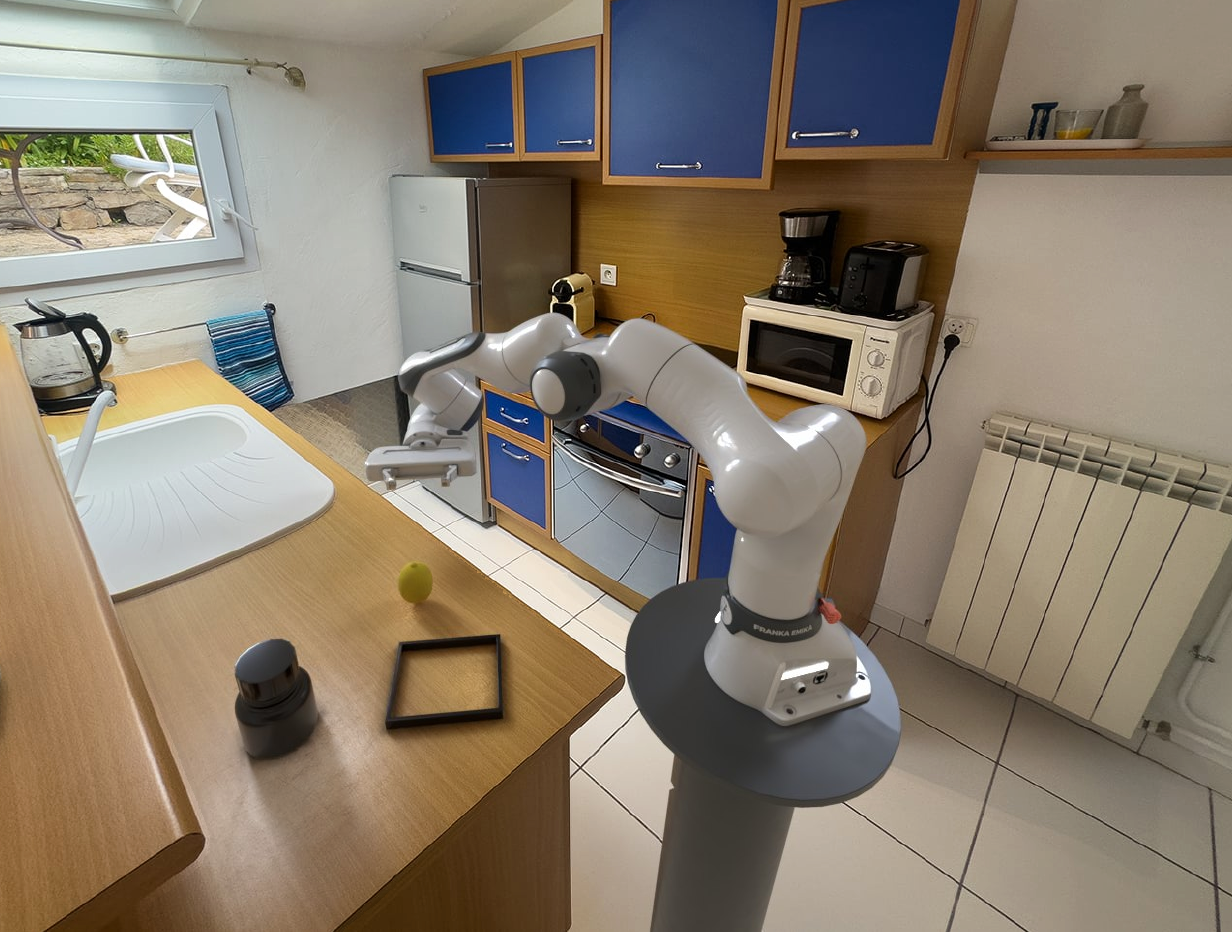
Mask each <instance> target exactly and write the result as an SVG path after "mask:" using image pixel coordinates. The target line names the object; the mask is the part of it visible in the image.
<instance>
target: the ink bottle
mask: <svg viewBox="0 0 1232 932" xmlns="http://www.w3.org/2000/svg"><path fill="white" fill-rule="evenodd" d="M298 659H299V658H298V655H297V649H296V646H295V645H293V643H292V642H291V641H290V640H287V639H283V638H269V639H267V640H263V641H259V642H258V643H256V644H254V645H253V646H251V647H248V648H247V650H245V651H244V652H243V654H241V655H240V656H239V657H238V660H237V661H236V663H235V665H234V678H235V681H236V684H237V688H238V693H237V696H236V698H235V700H234V701H235V703H234V714H235V718H236V721H237V725H238V729H239V732H240V736H241V739H242V742H243V746H244V749H245V750H246V752H247V753H248V754H249V755H250V756H251V757H253V758H255V759H259V760H272V759H277V758H281V757H285V756H286V755H289V754H291V753H292V752H294V751H297V750H298V749H299V748H300V747H302V746H303V745H304V744H305V743H306V742H307V741H308V740H309V739H310V737H311V736H312V734H313V732H314V731H315V729H316V726H317V723H318V719H319V714H318V705H317V701H316V696H315V692H314V687H313V682H312V678H311V675H310V674H309V672H308V671H307V670H306V669H305V668H304V667H302V666H301V665H300V664H299V660H298Z"/></svg>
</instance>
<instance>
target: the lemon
mask: <svg viewBox="0 0 1232 932" xmlns="http://www.w3.org/2000/svg"><path fill="white" fill-rule="evenodd" d="M397 579H398V580H397V589H398V592H399V594H400V596H401V598H402V599H403V600H404V601H405V602H406V603H409V604H413V605H417V604H421V603H423V602H425V601H426V600H427V599H428V598H429V596H430V595H431V593H432V591H433V587H434V586H433V585H434V580H433V576H432V572H431V570H430V568H429V567H428V566H427V564H425V563H424V562H421V561H411V562H409V563H406V564H405V565H404V566H403V567H402V568H401V570H400V572H399V575H398V578H397Z"/></svg>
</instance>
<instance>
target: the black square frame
mask: <svg viewBox="0 0 1232 932" xmlns="http://www.w3.org/2000/svg"><path fill="white" fill-rule="evenodd" d="M501 638H502V637H501V633H496V634H494V633H493V634H480V635H471V636H458V637H444V638H431V639H430V638H429V639H418V640H417V639H415V640H406V641H405V640H404V641H403V640H402V641H399V642H398V645H397V650H396V656H395V660H394V661H395V662H394V668H393V672H392V673H393V674H392V679H391V685H390V691H389V696H388V703H387V708H386V712H385V713H386V715H385V718H384V719H385V720H384V725H385V730H386V731H389V730H400V729H409V728H411V729H412V728H420V727H432V726H443V725H452V724H463V723H475V722H485V721H496V720H504V700H503V695H504V694H503V671H502V670H503V669H502V667H503V666H502V640H501ZM494 645H496V660H497V661H496V664H497V666H496V669H497V707H490V708H481V709H479V708H478V709H469V710H457V711H445V712H435V713H425V714H415V715H414V714H413V715H403V716H394V711H395V705H396V699H397V694H398V686H399V681H400V675H401V669H402V668H401V667H402V661H403V655H404V652H405V653H406V652H416V651H417V652H418V651H430V650H443V649H455V648H469V647H479V646H480V647H482V646H494Z"/></svg>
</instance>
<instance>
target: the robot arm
mask: <svg viewBox="0 0 1232 932" xmlns="http://www.w3.org/2000/svg"><path fill="white" fill-rule="evenodd" d="M456 369H457V370H462V371H466V372H468V373H469V374H472V375H474V376H476V377H478V378H479V379H481V380H482V381H484V382H485V383H487V384H489V385H490V386H492V387H493V388H496V389H497V390H499V391H500V392H504V393H507V394H513V395H515V394H516V395H517V394H518V395H519V394H525V393H529V392H530V396H531V398H532V402H533V403H534V405H535V407H536V409H537V410H538V411H539V412H540V414H541V415H543V417H545V418H546V419H549V420H551V421H554V422H570V421H572V422H573V421H576V420H579V419H581V418H583V417H586V416H589V415H593V414H597V413H599V412H603V411H608V410H610V409H612V408H614V407H616V406H618V405H620V404H622V403H624V402H625V401H628V400H631V399H636V400H637V401H638V402H639V403H640V404H642V405H643V406H644V407H646V409H648V410H649V411H650V412H651V413H653V414H654V415H655V416H657V417H658V418H659V419H661V420H662V421H663V422H664V423H666V424H667V425H668V426H669V427H671V428H672V429H673V430H674V431H676V432H677V433H678V434H679V435H680V436H682V437H683V438H684V439H685V440H686V441H687V442H688V443H689V444H690V445H691V446H692V448H694V449H695V451H696V452H697V453H698V454H699V456H700V457H701V459H702V460H703V461H704V463H705V465H706V466H707V468H708V470H709V471H710V474H711V476H712V479H713V491H714V497H715V501H716V504H717V506H718V508H719V510H720V512H721V513H722V515H723V517H724V518H725V519H726V520H727V521H728V522H729V523H730V524H731V525H732V526H733V527H734V528H735V529H736V531H735V535H734V541H733V546H732V553H731V559H730V565H729V570H728V572H727V573H726V575H725V577H724V578H725V582H724V586H723V592H722V598H721V605H720V612H719V614H718V615H717V617H716V620H715V622H718V623H717V626H716V628H715V630H714V633H713V634H712V636H711V638H710V639H709V641H708V643H707V644H706V647H705V651H704V661H705V665H706V668H707V670H708V672H709V674H710V676H711V677H712V679H713V680H714V682H715V683H716V684H717V685H718V686H719V687H720V688H721V689H722V690H723V691H724V692H725V693H726V694H728V695H729V696H731V697H732V698H734V699H735V700H737V701H739V702H741V703H743V704H745V705H747V706H750V707H752V708H755V709H757V710H759V711H761V712H762V713H763V714H765V715H766V716H767V717H768V718H770V719H771V720H772V721H774V722H775V723H777V724H779V725H781V726H789V725H792V724H795V723H799V722H802V721H805V720H808V719H811V718H814V717H817V716H820V715H823V714H827V713H830V712H833V711H836V710H839V709H842V708H845V707H848V706H851V705H854V704H858V703H861V702H864V701H867V700H869V699H870V698H871V683H870V679H869V676H868V674H867V672H866V670H865V668H864V666H863V664H862V663H861V661H860V659H859V658H858V656H857V655H856V651H855V648H854V645H853V643H852V641H851V639H850V637H849V635H848V634H847V632H846V631H845V629H844V628H843V627H842V625H841V624H840V623H839V622H838V621H840V622H841V619H842V614H841V612H840V611H839V610H837V609H838V607H837V605H836V604H835V602H834V600H833V598H831V597H830V598H829V597H828V598H827V597H824V594H823V592H821V590H820V589H819V584H820V581H821V576H822V572H823V568H824V563H825V561H826V556H827V553H828V552H829V548H830V547H831V546H830V545H831V544H832V541H833V538H834V537H835V534H836V531H837V529H838V526H839V523H840V521H841V519H842V516H843V514H844V511H845V509H846V506H847V503H848V500H849V498H850V494H851V493H852V489H853V486H854V483H855V480H856V478H857V474H858V471H859V469H860V466H861V464H862V461H863V459H864V456H865V453H866V450H867V436H866V432H865V430H864V427H863V425H862V424H861V422H860V421H859V419H857V417H856V416H854V415H853V414H852V413H851V412H849V411H848V410H846V409H845V408H842V407H840V406H837V405H834V404H827V403H824V404H823V403H821V404H816V405H810V406H805V407H800V408H797V409H795V410H793V411H791V412H789V413H788V414H786V415H784V416H783V417H782V418H780V419H778V420H777V421H775V420H773V419H772V418H770V417H769V416H767V414H765V412H763V410H761V408H760V407H759V406H758V405H757V404H756V403H755V401H754V400H753V399H752V398H751V397H750V395H749V393H748V386H747V382H746V380H745V378H744V376H743V375H742V374H740V373H739V372H738V371H737V370H735V369H733V368H732V367H731V366H729V365H728V364H726V363H725V362H723V361H721V360H720V359H719V358H717V357H716V356H714V355H713V354H711V353H709V352H708V351H706V350H705V349H703V348H702V347H700V346H699V345H698V344H696V343H695V342H693V341H691V340H690V339H688V338H686V337H685V336H683V335H681V334H679V333H677V332H676V331H674V330H672V329H670V328H668V327H665V326H663V325H661V324H659V323H658V322H657V323H656V322H654V321H652V320H649V319H647V318H640V317H637V318H631V319H627V320H625V321H624V322H623V323H621V324H619V325H618V326H617V327H616V328H615V329H614V331H613V332H611V334H605V333H596V334H595V335H593V337H591V338H588V337H585V336H583V335H582V334H581V332H580V331H579V329H578V326H577V325H576V324H575V322H574V321H573V320H572V319H570V318H569V317H568V316H566V315H564V314H561V313H560V312H559V313H558V312H547V313H544V314H541V315H538V316H535V317H533V318H529V319H528V320H526V321H524V322H522V323H520V324H519V325H517V326H515V327H513V328H512V329H511V330H509V331H506V332H499V333H498V332H497V333H489V332H482V331H473V332H468V333H466V334H463V335H461V336H458V337H455V338H453V339H451V340H448V341H446V342H443V343H441V344H439V345H436V346H434V347H431V348H427V349H421V350H418V351H416V352H415V353H413V354H411V355H410V356H409V357H407V359H406V360H405V361H404V362H403V363H402V365H401V367H400V369H399V370H398V372H397V379H398V385H399V388H400V391H401V392H403V393H404V394H406V395H407V396H409V397H411V398H412V399H415V400H416V401H417V402H418V403H419V404H418V406H417V407H416V408H415V409H414V411H413V412H412V414H411V416H410V419H409V420H408V423H407V428H406V429H407V430H406V432H405V435H404V438H403V442H402V445H387V446H379V447H376V448H375V449H373V450H372V451H370V453H369V454H368V456H367V458H366V460H365V462H364V473H365V478H366V479H367V480H368V481H369V482H384V484H385V488H386V490H387V491H393V490H394V491H395V490H396V489H397V481H407V480H409V481H410V480H424V479H426V480H427V479H440V482H441V483H440V485H441V487H442V488H447V487H448V488H450V487H451V483H452V482H453V481H455V480H456V479H458V478H463V477H465V478H467V477H473V476H475V475H476V474H477V473H478V469H477V455H476V454H477V453H476V448H475V446H474V443H473V442H472V441H471V438H470V433H469V431H470V430H471V429H472V428H473V427H474V426H475V425H476V424H477V422H478V421H479V419H480V418H481V416H482V413H483V411H484V407H485V406H484V405H485V396H484V392H483V391H482V390H481V389H480V388H478V386H476V385H475V384H474V383H472V382H471V381H470V380H469V379H468V378H466V377H465V376H463V375H462V374H461V373H460V372H459V371H457V370H456ZM861 679H862V680H861ZM787 712H789V713H791V714H789V713H787Z"/></svg>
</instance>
